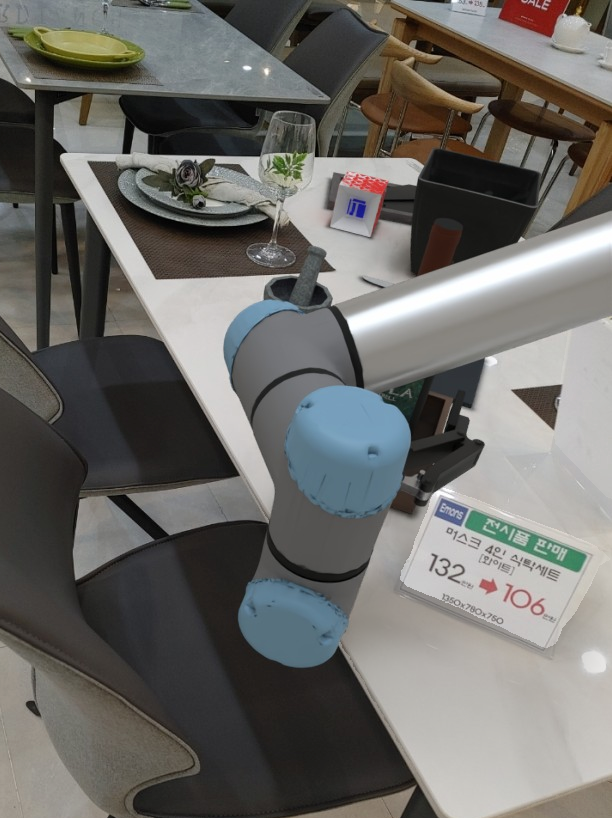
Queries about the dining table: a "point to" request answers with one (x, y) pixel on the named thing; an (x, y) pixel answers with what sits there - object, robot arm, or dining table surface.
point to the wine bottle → (435, 257)
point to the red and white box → (358, 203)
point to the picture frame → (385, 200)
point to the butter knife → (378, 281)
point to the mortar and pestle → (302, 285)
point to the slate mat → (459, 381)
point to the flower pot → (472, 203)
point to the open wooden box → (427, 426)
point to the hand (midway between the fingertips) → (393, 380)
